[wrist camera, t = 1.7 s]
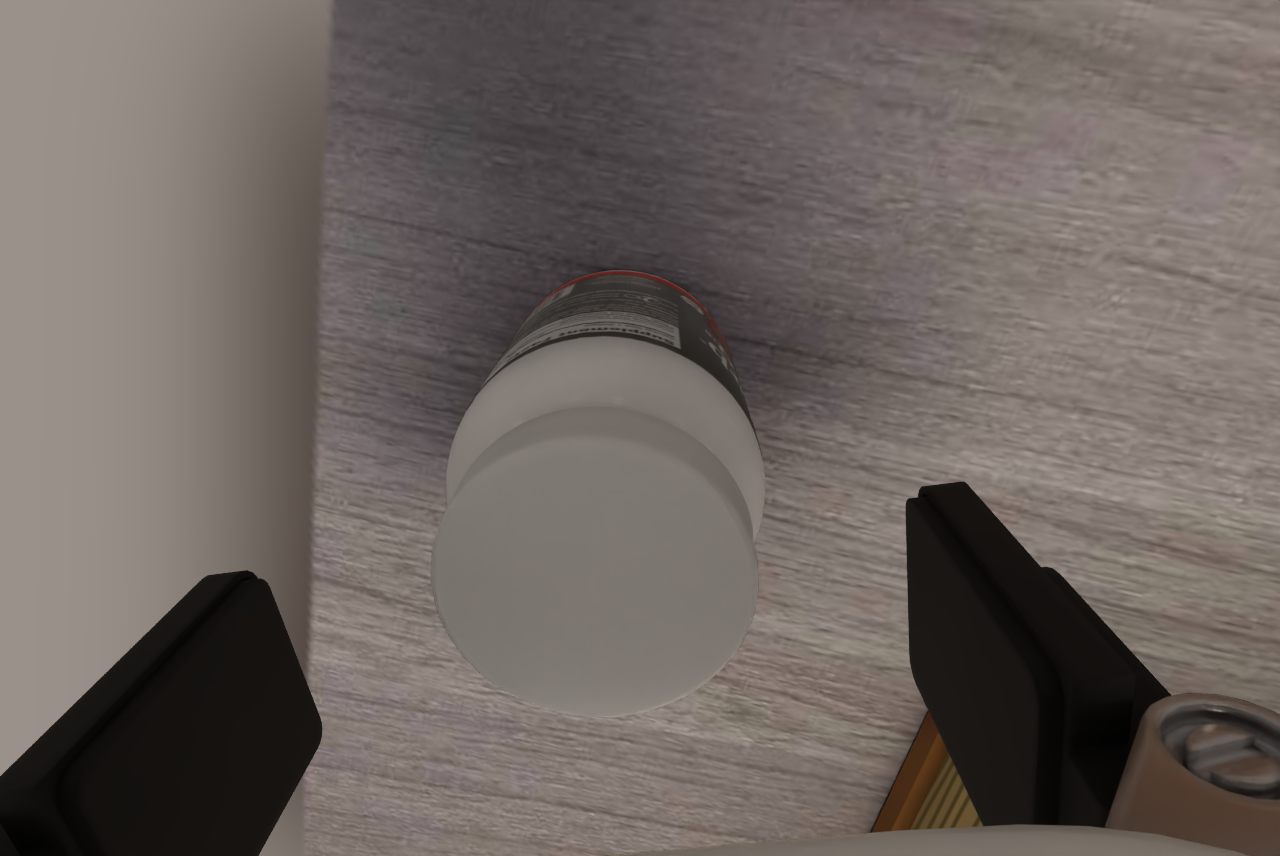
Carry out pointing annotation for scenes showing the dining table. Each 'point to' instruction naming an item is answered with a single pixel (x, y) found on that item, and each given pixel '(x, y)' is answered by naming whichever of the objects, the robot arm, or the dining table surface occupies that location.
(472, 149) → the dining table surface
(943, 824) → the diary
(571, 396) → the pill bottle
